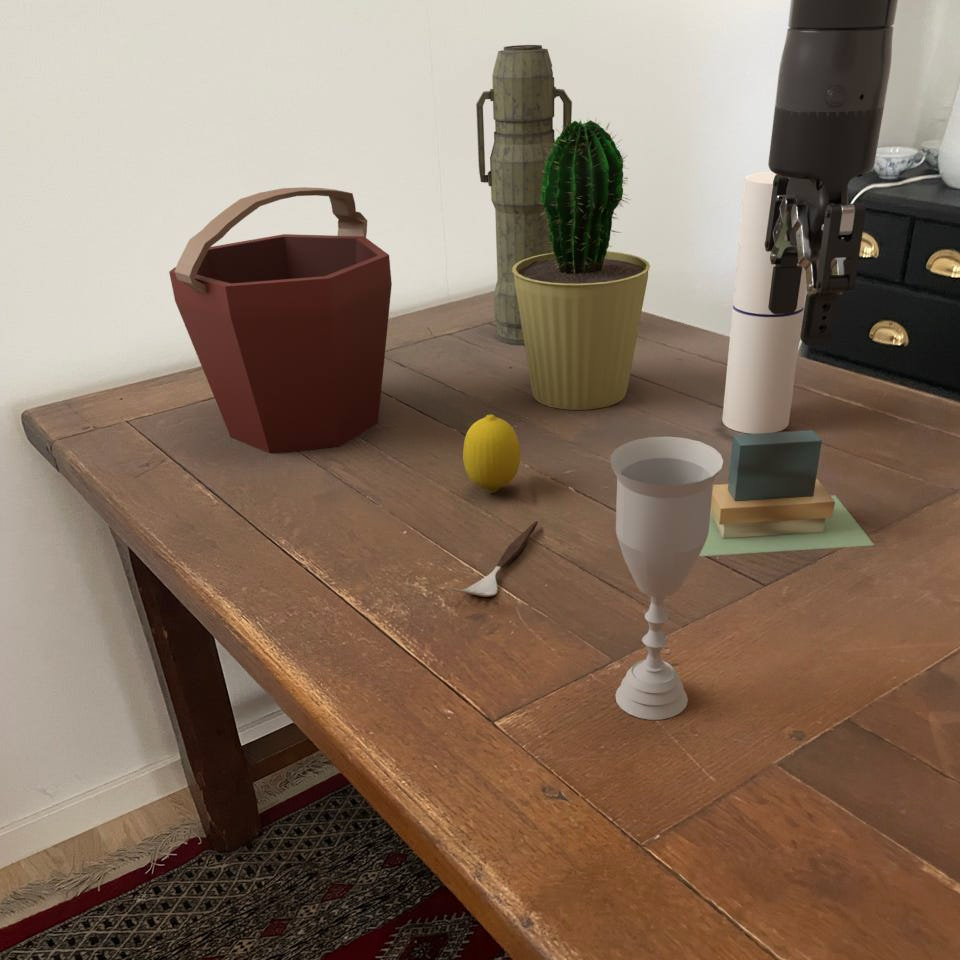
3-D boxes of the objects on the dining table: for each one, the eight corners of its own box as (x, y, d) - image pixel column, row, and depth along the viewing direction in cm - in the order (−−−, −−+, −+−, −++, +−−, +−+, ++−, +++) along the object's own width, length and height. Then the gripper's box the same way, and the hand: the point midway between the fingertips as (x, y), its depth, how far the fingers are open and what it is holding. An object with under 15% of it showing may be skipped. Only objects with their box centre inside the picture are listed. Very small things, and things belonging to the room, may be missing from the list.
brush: (812, 509, 94) (825, 423, 90) (830, 533, 90) (844, 445, 86) (704, 515, 94) (712, 430, 89) (717, 540, 90) (726, 452, 85)
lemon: (480, 477, 104) (476, 401, 100) (530, 485, 102) (528, 408, 98) (455, 499, 100) (450, 421, 96) (506, 508, 98) (504, 429, 94)
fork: (550, 528, 94) (550, 509, 93) (480, 615, 82) (478, 594, 81) (524, 524, 95) (524, 504, 94) (450, 609, 83) (449, 588, 82)
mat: (834, 498, 97) (835, 494, 96) (874, 549, 88) (874, 545, 88) (666, 509, 96) (666, 505, 96) (690, 560, 88) (690, 556, 88)
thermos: (574, 342, 139) (577, 46, 120) (488, 347, 139) (477, 51, 120) (565, 323, 147) (566, 41, 128) (483, 328, 146) (472, 46, 127)
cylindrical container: (711, 426, 113) (732, 181, 99) (737, 405, 117) (761, 169, 104) (774, 438, 109) (805, 186, 95) (798, 416, 114) (831, 173, 100)
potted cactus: (509, 416, 118) (501, 127, 101) (520, 372, 130) (515, 108, 114) (644, 417, 116) (659, 122, 99) (643, 371, 128) (655, 103, 112)
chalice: (700, 733, 68) (724, 487, 59) (598, 725, 70) (605, 483, 60) (700, 670, 74) (722, 437, 65) (606, 664, 76) (613, 435, 66)
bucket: (358, 376, 131) (335, 164, 118) (449, 427, 116) (434, 189, 102) (174, 422, 121) (124, 195, 107) (246, 484, 105) (199, 227, 91)
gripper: (922, 110, 67) (877, 353, 76) (846, 88, 79) (814, 301, 88) (809, 115, 67) (777, 358, 76) (750, 92, 79) (728, 305, 88)
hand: (797, 327), depth 82 cm, fingers open, 8 cm apart
